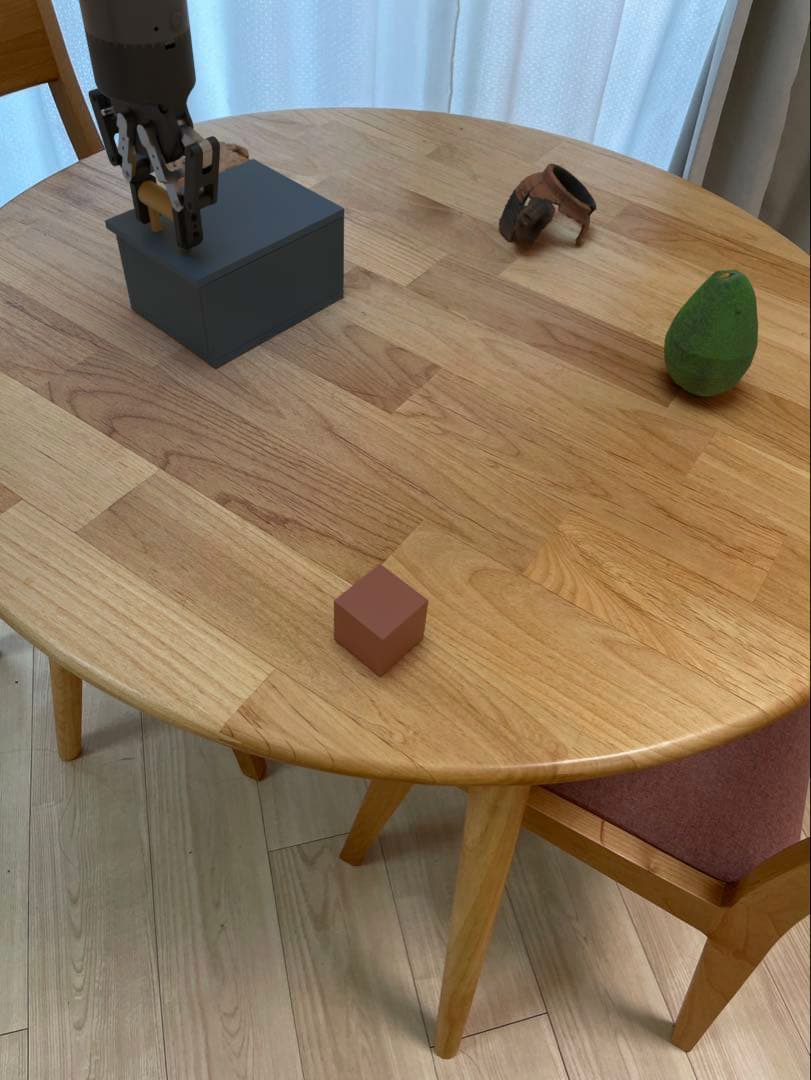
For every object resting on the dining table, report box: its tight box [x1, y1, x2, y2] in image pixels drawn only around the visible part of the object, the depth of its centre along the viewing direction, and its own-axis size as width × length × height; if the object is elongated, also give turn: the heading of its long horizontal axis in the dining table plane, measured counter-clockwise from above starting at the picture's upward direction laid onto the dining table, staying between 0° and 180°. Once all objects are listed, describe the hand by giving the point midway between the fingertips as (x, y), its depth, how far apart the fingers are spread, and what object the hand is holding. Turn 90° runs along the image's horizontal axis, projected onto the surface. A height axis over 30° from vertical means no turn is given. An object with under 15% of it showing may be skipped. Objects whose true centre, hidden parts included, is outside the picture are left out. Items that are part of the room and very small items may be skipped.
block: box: [333, 563, 429, 677], centre depth 61 cm, size 5×5×5 cm
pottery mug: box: [498, 163, 597, 245], centre depth 98 cm, size 12×10×8 cm
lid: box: [104, 158, 345, 288], centre depth 79 cm, size 18×13×5 cm
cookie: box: [166, 140, 253, 189], centre depth 103 cm, size 10×11×3 cm
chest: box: [115, 216, 345, 369], centre depth 85 cm, size 17×13×9 cm
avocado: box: [663, 269, 759, 398], centre depth 79 cm, size 8×8×12 cm
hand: (169, 231), depth 77 cm, fingers closed on lid, 5 cm apart
